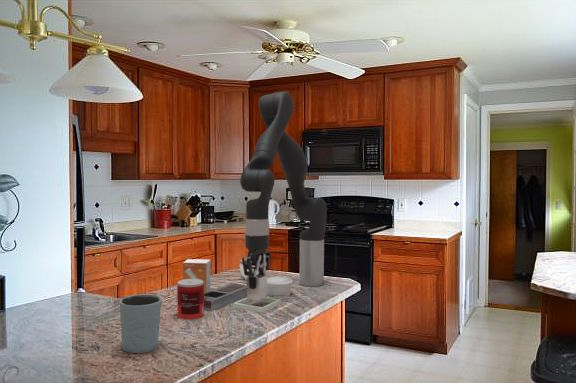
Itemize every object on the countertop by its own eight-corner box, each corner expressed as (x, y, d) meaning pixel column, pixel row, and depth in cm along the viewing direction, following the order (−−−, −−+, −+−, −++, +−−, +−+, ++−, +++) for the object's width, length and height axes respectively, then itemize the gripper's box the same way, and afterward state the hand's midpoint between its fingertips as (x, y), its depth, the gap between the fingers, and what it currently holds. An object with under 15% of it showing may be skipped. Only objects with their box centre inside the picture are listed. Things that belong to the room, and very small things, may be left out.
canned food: (194, 312, 151) (193, 277, 150) (209, 318, 145) (209, 281, 145) (172, 318, 146) (171, 281, 145) (187, 324, 140) (186, 286, 139)
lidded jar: (233, 279, 196) (233, 256, 195) (252, 274, 204) (252, 252, 203) (253, 283, 189) (253, 259, 188) (271, 278, 197) (271, 255, 197)
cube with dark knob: (254, 295, 159) (254, 273, 158) (266, 297, 156) (267, 275, 156) (246, 298, 154) (246, 276, 154) (259, 300, 152) (259, 277, 152)
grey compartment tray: (230, 294, 172) (230, 283, 172) (250, 297, 169) (250, 285, 168) (190, 310, 153) (190, 297, 153) (211, 314, 149) (211, 301, 149)
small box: (182, 301, 164) (182, 262, 163) (187, 296, 170) (187, 258, 170) (206, 301, 163) (206, 262, 163) (210, 296, 170) (210, 259, 169)
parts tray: (251, 302, 163) (251, 295, 163) (280, 306, 158) (280, 299, 158) (232, 310, 153) (232, 303, 153) (263, 315, 148) (263, 308, 148)
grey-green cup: (138, 337, 129) (137, 292, 128) (170, 343, 125) (170, 296, 124) (110, 350, 120) (110, 302, 119) (144, 357, 116) (144, 307, 115)
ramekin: (292, 299, 167) (292, 284, 167) (259, 299, 167) (259, 283, 167) (292, 291, 178) (293, 276, 178) (262, 290, 179) (262, 276, 178)
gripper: (258, 229, 162) (258, 280, 163) (234, 234, 150) (234, 290, 151) (278, 231, 159) (278, 283, 160) (255, 236, 146) (254, 293, 147)
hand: (256, 286), depth 155 cm, fingers closed on cube with dark knob, 4 cm apart
